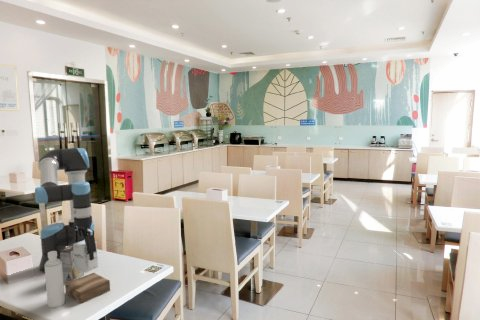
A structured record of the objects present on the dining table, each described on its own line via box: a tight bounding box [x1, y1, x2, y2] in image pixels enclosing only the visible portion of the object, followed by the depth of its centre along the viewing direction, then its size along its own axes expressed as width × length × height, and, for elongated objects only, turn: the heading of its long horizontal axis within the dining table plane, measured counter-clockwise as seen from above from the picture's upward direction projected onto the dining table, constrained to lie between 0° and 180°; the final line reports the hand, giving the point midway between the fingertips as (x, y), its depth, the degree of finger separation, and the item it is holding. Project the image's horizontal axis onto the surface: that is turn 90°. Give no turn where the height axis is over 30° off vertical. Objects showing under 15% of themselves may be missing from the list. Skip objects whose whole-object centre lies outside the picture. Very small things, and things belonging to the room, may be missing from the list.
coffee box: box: [60, 245, 85, 283], centre depth 174 cm, size 9×6×16 cm
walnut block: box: [64, 272, 111, 304], centre depth 160 cm, size 14×14×5 cm
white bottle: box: [44, 251, 66, 308], centre depth 149 cm, size 7×7×25 cm
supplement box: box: [73, 240, 99, 274], centre depth 158 cm, size 7×7×13 cm
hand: (86, 263), depth 158 cm, fingers closed on supplement box, 8 cm apart
